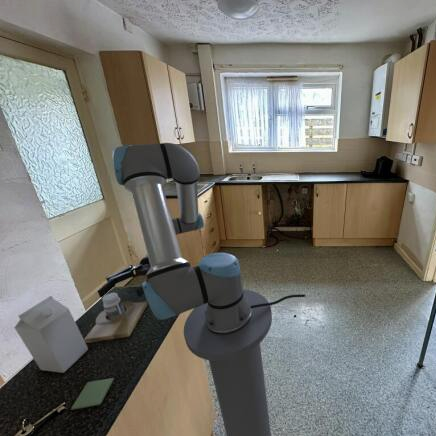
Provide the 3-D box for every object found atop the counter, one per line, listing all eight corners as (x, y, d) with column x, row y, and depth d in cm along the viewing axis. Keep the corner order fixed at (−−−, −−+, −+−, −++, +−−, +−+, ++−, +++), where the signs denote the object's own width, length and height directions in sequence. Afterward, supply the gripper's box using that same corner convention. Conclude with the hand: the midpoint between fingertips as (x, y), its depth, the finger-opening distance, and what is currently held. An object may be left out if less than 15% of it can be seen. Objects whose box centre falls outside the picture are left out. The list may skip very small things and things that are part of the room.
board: (149, 301, 86) (148, 298, 85) (129, 336, 72) (127, 333, 71) (108, 307, 84) (107, 303, 84) (79, 344, 70) (78, 340, 69)
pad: (114, 379, 60) (113, 377, 59) (100, 404, 54) (99, 403, 54) (88, 383, 59) (87, 382, 59) (71, 410, 53) (70, 408, 53)
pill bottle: (119, 309, 83) (111, 290, 79) (129, 312, 81) (121, 292, 78) (105, 320, 78) (97, 299, 75) (116, 323, 77) (107, 302, 74)
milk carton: (40, 370, 62) (6, 314, 55) (67, 347, 69) (40, 294, 62) (63, 373, 61) (31, 317, 54) (89, 349, 68) (63, 296, 61)
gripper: (184, 267, 101) (157, 301, 82) (127, 268, 102) (87, 303, 82) (180, 252, 99) (152, 284, 79) (122, 253, 99) (79, 285, 80)
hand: (119, 293), depth 81 cm, fingers open, 13 cm apart
